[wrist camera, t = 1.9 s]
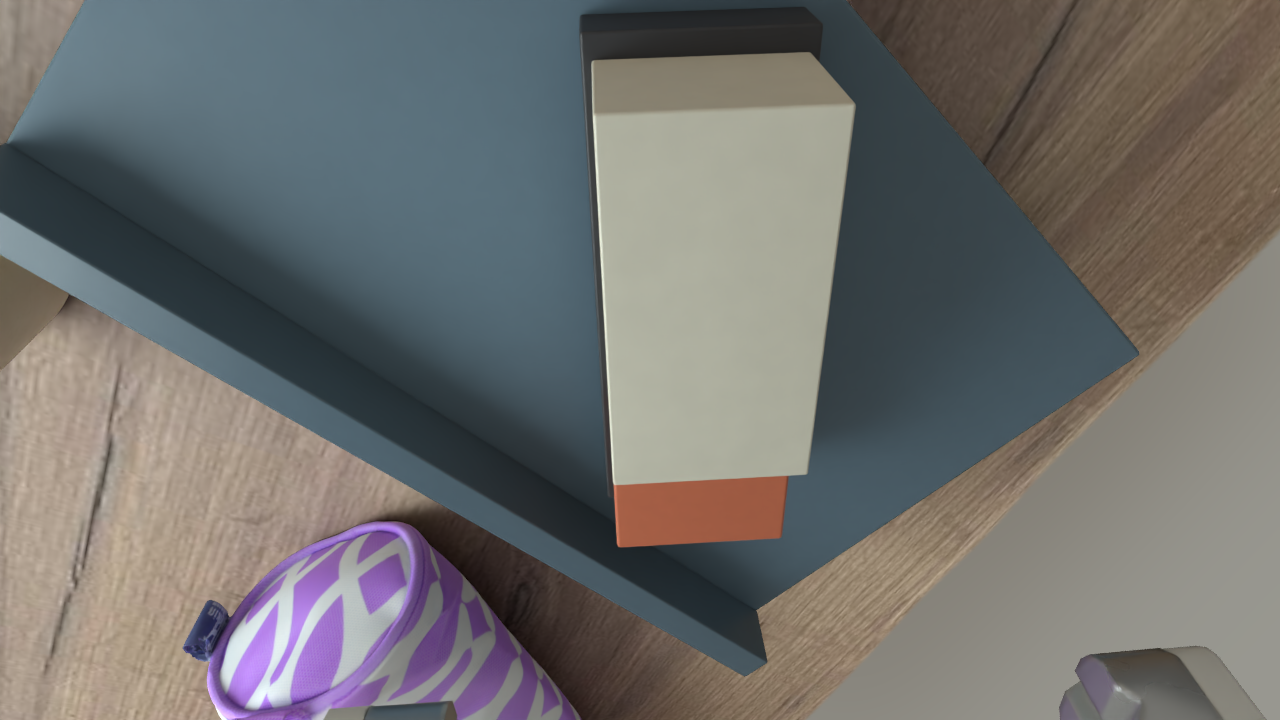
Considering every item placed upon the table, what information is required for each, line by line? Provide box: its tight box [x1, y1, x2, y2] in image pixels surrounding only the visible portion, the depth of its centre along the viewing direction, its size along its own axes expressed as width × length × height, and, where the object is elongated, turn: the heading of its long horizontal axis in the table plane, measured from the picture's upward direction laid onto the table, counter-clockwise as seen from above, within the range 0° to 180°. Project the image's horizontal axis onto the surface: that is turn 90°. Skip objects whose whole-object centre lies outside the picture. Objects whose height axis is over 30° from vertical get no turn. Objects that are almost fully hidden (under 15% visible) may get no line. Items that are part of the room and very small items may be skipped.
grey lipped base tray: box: [0, 0, 1139, 676], centre depth 21 cm, size 15×24×8 cm, turn 46°
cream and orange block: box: [579, 7, 856, 547], centre depth 18 cm, size 12×5×5 cm, turn 1°
